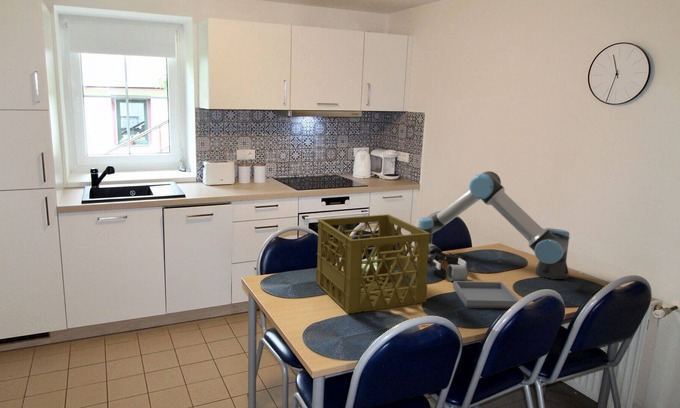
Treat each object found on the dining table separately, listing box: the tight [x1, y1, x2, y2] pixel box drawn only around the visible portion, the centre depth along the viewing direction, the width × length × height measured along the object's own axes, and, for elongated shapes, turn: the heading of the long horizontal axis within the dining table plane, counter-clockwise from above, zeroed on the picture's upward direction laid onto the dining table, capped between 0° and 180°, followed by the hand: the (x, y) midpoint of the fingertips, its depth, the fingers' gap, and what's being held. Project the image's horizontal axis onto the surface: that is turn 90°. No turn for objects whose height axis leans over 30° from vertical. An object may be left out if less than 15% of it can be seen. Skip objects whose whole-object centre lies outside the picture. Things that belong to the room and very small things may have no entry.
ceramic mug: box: [445, 264, 469, 282], centre depth 240 cm, size 11×8×8 cm
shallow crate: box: [452, 280, 520, 309], centre depth 219 cm, size 22×22×3 cm
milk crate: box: [315, 214, 431, 314], centre depth 217 cm, size 36×35×30 cm
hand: (452, 265), depth 241 cm, fingers open, 13 cm apart
